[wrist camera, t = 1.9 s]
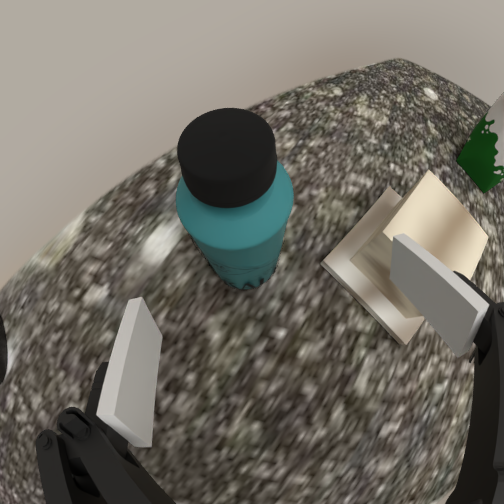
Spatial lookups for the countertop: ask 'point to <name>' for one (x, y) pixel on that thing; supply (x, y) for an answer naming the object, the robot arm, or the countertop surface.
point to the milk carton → (486, 149)
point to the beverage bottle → (234, 194)
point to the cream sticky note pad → (418, 229)
